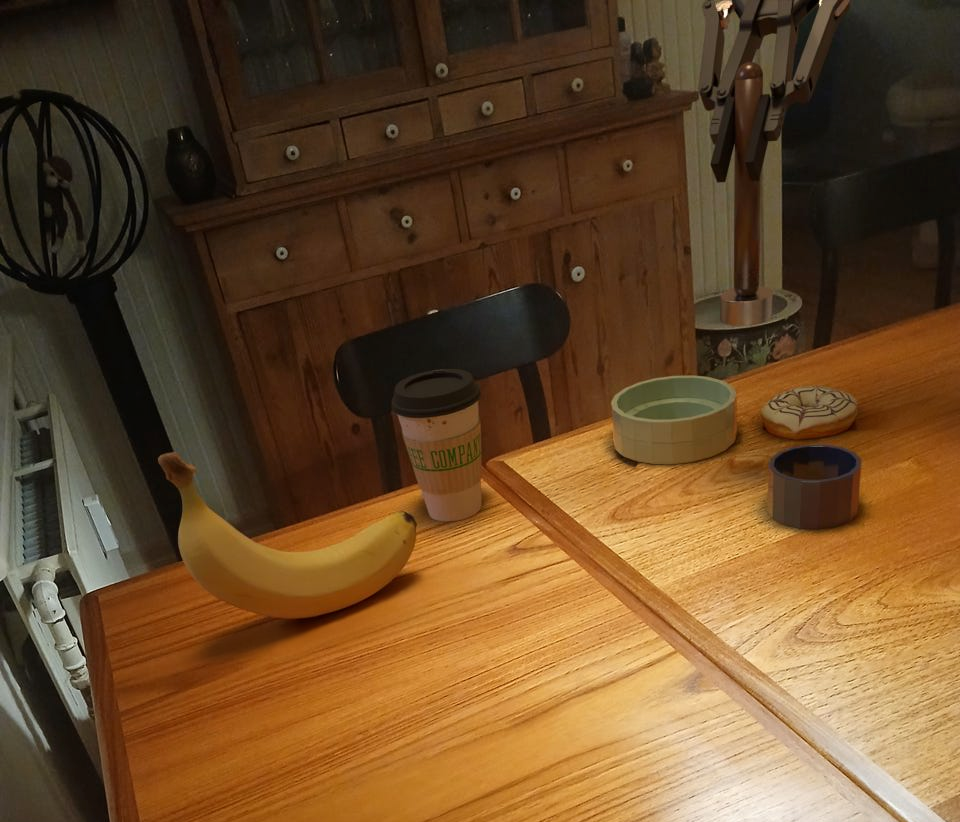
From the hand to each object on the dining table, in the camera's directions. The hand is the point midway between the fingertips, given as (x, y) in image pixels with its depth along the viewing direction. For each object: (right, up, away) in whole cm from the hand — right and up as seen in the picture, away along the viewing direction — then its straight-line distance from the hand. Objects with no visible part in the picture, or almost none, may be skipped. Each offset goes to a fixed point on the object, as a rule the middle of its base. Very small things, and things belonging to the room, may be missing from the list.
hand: (734, 172), depth 88 cm
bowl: (+1, -18, +31) cm, 36 cm away
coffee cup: (-26, -27, +25) cm, 45 cm away
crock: (+11, -29, +12) cm, 33 cm away
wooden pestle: (+4, -10, +11) cm, 15 cm away
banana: (-38, -39, +11) cm, 56 cm away
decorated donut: (+16, -17, +30) cm, 38 cm away
